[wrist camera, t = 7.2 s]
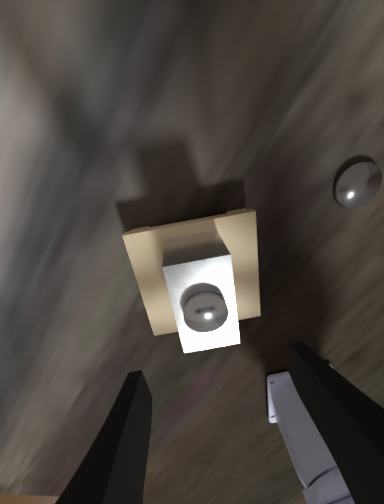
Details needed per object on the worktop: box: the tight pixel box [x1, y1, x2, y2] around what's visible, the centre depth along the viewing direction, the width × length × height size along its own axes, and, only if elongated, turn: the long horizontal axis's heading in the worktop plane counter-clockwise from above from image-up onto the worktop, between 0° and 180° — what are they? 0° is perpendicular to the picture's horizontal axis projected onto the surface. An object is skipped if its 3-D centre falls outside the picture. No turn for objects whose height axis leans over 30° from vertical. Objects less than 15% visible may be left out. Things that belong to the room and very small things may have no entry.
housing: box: [162, 230, 240, 353], centre depth 16 cm, size 4×7×5 cm, turn 9°
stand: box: [123, 208, 261, 336], centre depth 19 cm, size 10×10×2 cm
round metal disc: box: [333, 162, 382, 208], centre depth 18 cm, size 4×4×1 cm
